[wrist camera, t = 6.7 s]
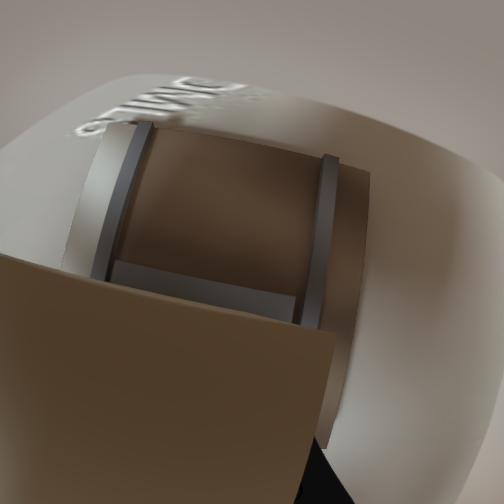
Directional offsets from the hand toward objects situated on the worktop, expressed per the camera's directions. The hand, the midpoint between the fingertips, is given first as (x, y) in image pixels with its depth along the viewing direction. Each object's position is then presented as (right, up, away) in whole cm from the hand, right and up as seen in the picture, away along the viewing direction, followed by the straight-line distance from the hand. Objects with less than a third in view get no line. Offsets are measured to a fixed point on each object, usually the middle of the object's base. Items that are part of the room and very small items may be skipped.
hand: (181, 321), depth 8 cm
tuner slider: (-2, -2, +5) cm, 6 cm away
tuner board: (0, +1, +7) cm, 7 cm away
